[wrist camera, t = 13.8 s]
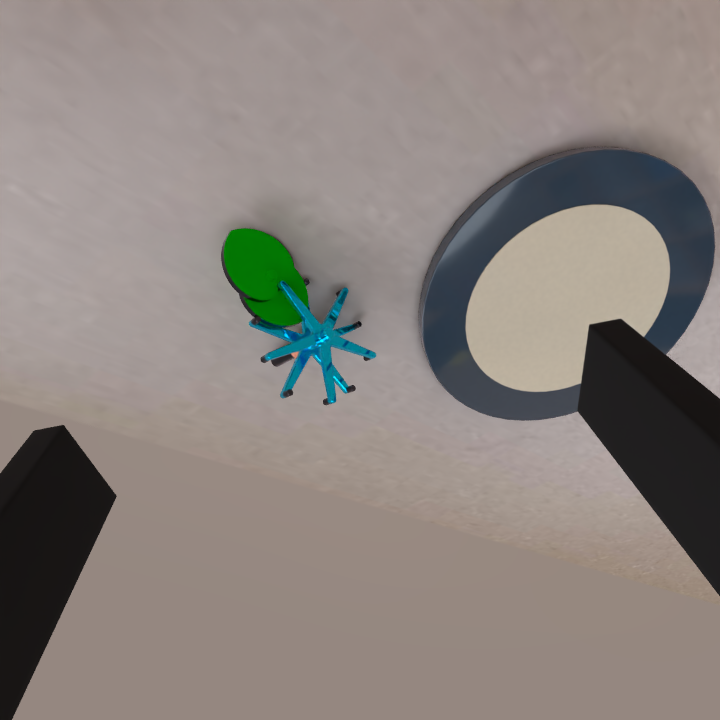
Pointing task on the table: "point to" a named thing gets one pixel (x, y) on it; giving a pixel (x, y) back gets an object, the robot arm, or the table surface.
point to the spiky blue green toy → (286, 307)
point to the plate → (562, 276)
